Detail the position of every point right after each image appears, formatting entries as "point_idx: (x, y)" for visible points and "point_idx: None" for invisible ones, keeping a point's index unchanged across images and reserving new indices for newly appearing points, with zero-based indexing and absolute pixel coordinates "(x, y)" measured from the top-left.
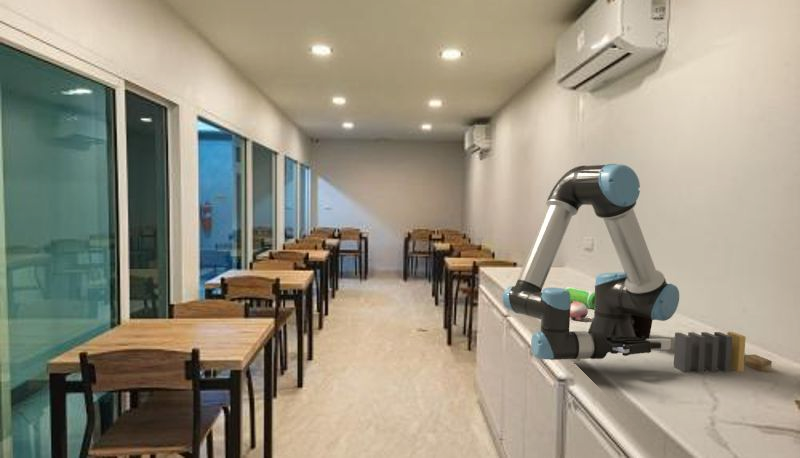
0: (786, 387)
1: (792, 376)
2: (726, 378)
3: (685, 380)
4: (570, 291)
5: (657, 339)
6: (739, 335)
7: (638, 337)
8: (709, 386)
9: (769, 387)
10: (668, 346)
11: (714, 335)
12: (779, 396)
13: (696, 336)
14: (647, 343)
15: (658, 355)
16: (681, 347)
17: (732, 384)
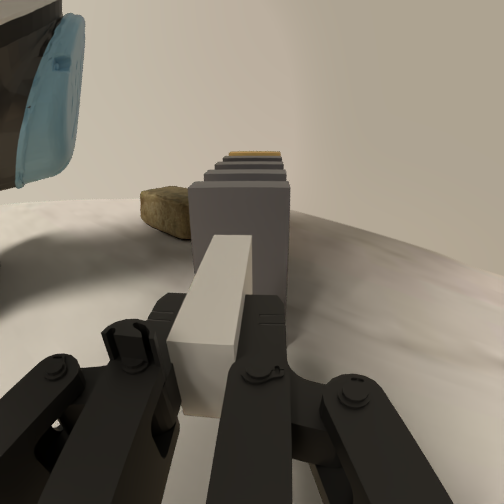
0: (379, 238)
1: (309, 215)
2: (339, 283)
3: (388, 389)
4: None
5: (224, 278)
6: (269, 152)
7: (74, 363)
8: (434, 345)
9: (389, 253)
10: (251, 284)
11: (264, 161)
12: (443, 263)
13: (262, 176)
14: (377, 419)
15: (78, 317)
16: (252, 252)
17: (391, 293)
